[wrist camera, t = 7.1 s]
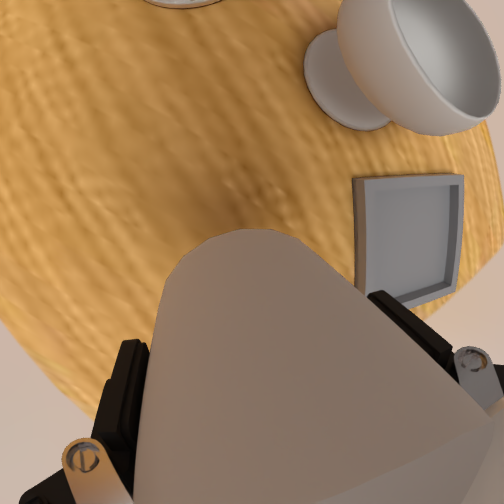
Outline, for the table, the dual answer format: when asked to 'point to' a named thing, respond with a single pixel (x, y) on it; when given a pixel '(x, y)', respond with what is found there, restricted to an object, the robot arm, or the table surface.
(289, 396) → the can
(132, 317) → the table surface
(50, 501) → the robot arm
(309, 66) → the chalice
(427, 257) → the tray
